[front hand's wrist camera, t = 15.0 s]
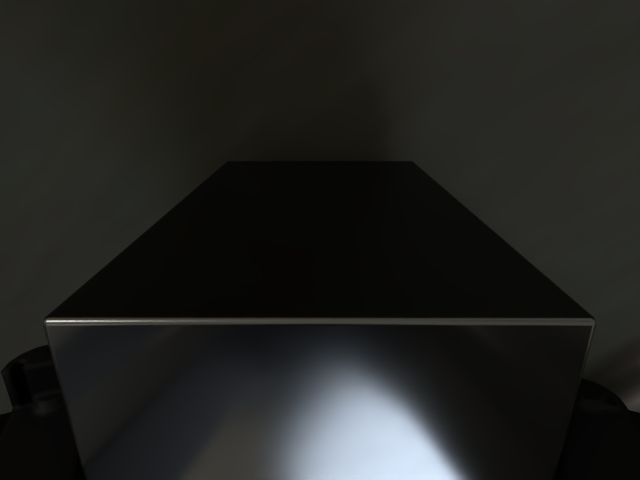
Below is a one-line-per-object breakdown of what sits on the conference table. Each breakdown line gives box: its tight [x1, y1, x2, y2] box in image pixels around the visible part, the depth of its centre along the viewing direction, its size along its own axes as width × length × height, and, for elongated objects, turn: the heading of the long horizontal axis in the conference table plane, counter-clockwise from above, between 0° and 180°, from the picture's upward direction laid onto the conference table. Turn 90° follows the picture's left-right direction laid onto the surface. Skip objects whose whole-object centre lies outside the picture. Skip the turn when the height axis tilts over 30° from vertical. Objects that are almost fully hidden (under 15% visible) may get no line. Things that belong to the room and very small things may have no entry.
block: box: [43, 161, 596, 480], centre depth 11 cm, size 7×7×11 cm
